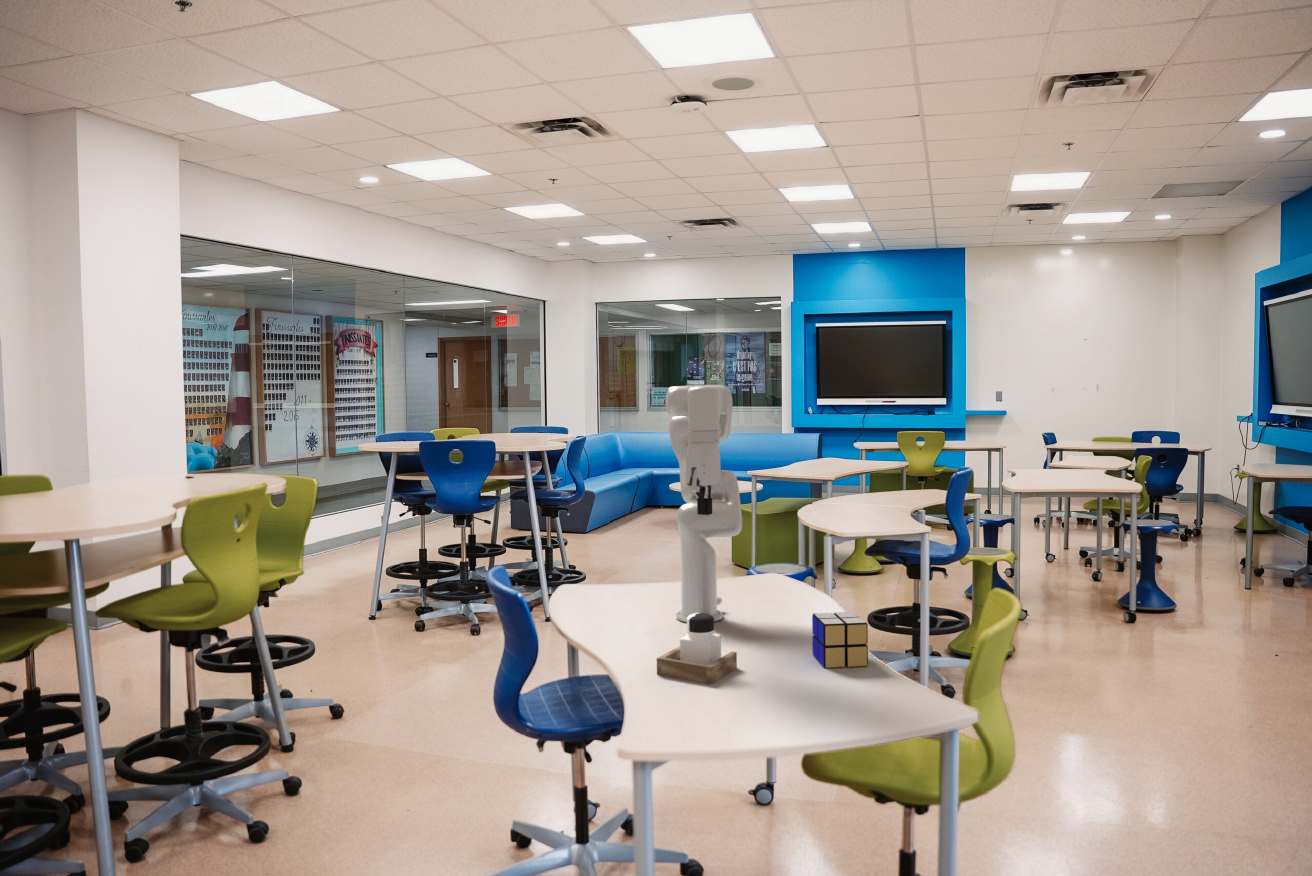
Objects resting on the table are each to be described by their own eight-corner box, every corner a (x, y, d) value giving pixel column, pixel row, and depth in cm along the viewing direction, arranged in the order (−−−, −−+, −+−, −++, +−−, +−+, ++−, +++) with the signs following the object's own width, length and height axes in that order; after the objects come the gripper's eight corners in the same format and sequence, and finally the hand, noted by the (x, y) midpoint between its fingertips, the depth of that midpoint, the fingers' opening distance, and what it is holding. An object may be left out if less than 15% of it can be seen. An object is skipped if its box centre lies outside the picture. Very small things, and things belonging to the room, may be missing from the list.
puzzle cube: (812, 655, 202) (811, 613, 202) (854, 653, 203) (854, 611, 203) (824, 669, 192) (823, 624, 192) (868, 667, 193) (868, 622, 193)
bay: (684, 658, 201) (684, 643, 201) (736, 667, 194) (736, 652, 194) (656, 673, 191) (656, 658, 190) (711, 683, 184) (710, 667, 183)
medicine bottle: (721, 664, 196) (721, 612, 196) (709, 674, 190) (709, 620, 189) (692, 661, 199) (691, 609, 199) (679, 670, 193) (679, 617, 192)
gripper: (704, 436, 217) (705, 509, 218) (674, 439, 204) (675, 517, 205) (731, 436, 213) (732, 511, 214) (702, 440, 200) (703, 519, 201)
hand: (704, 514), depth 209 cm, fingers closed
